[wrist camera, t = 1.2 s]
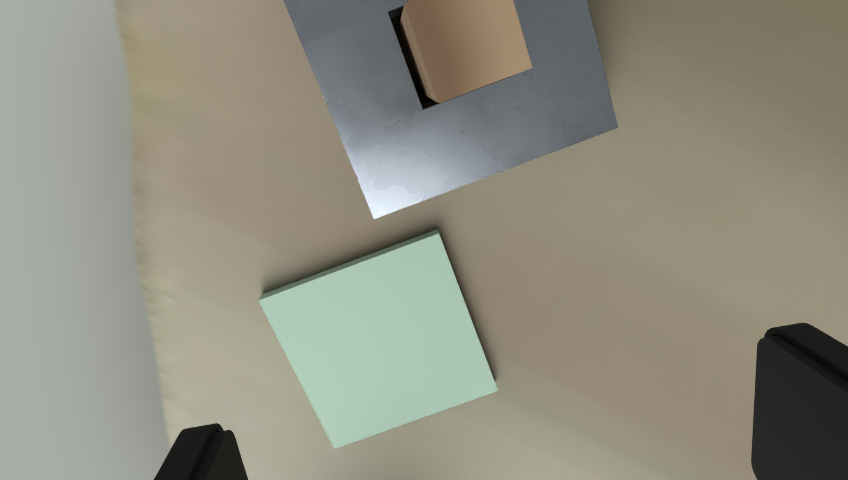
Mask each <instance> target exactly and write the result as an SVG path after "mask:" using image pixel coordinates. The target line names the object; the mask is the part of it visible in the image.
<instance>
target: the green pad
mask: <svg viewBox="0 0 848 480" xmlns="http://www.w3.org/2000/svg"><path fill="white" fill-rule="evenodd" d="M258 301H259V303H260V305H261V307H262V309H263V311H264V313H265V314H266V316H267V318H268V320H269V322H270V324H271V326H272V328H273V330H274V332H275V334H276V336H277V338H278V340H279V342H280V344H281V346H282V348H283V350H284V352H285V354H286V356H287V358H288V359H289V361H290V363H291V365H292V367H293V369H294V371H295V373H296V375H297V377H298V379H299V381H300V383H301V385H302V387H303V389H304V391H305V393H306V395H307V397H308V399H309V401H310V403H311V404H312V406H313V408H314V410H315V412H316V414H317V416H318V418H319V420H320V422H321V424H322V426H323V428H324V430H325V432H326V434H327V436H328V438H329V440H330V442H331V444H332V446H333V448H334V449H336V448H339V447H342V446H344V445H347V444H350V443H353V442H356V441H358V440H361V439H364V438H367V437H370V436H372V435H375V434H378V433H381V432H384V431H386V430H389V429H392V428H395V427H398V426H400V425H403V424H406V423H409V422H412V421H414V420H417V419H420V418H423V417H426V416H428V415H431V414H434V413H437V412H440V411H443V410H445V409H448V408H451V407H454V406H457V405H459V404H462V403H465V402H468V401H471V400H473V399H476V398H479V397H482V396H485V395H487V394H490V393H493V392H496V391H498V389H497V386H496V384H495V381H494V378H493V376H492V373H491V370H490V368H489V365H488V362H487V360H486V357H485V354H484V352H483V349H482V346H481V344H480V341H479V338H478V336H477V333H476V330H475V328H474V325H473V322H472V320H471V317H470V314H469V312H468V309H467V306H466V304H465V301H464V298H463V296H462V293H461V290H460V288H459V285H458V282H457V280H456V277H455V274H454V272H453V269H452V266H451V264H450V261H449V258H448V256H447V253H446V250H445V248H444V245H443V242H442V240H441V237H440V234H439V232H438V229H436V230H433V231H430V232H428V233H425V234H422V235H420V236H417V237H414V238H412V239H409V240H406V241H404V242H401V243H398V244H396V245H393V246H390V247H387V248H385V249H382V250H379V251H377V252H374V253H371V254H369V255H366V256H363V257H361V258H358V259H355V260H353V261H350V262H347V263H344V264H342V265H339V266H336V267H334V268H331V269H328V270H326V271H323V272H320V273H318V274H315V275H312V276H310V277H307V278H304V279H301V280H299V281H296V282H293V283H291V284H288V285H285V286H283V287H280V288H277V289H275V290H272V291H269V292H267V293H264V294H262V295H261V297H260V298H259V300H258Z"/></svg>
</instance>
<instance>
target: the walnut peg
mask: <svg viewBox="0 0 848 480" xmlns="http://www.w3.org/2000/svg"><path fill="white" fill-rule="evenodd" d="M399 27H400V30H401V33H402V35H403V38H404V41H405V44H406V47H407V49H408V52H409V55H410V58H411V61H412V64H413V66H414V69H415V72H416V75H417V78H418V80H419V83H420V86H421V89H422V92H423V94H424V95H425V96H427V97H429V98H431V99H433V100H435V101H436V102H438V103H442V102H444V101H447V100H449V99H452V98H455V97H457V96H460V95H463V94H465V93H468V92H470V91H473V90H476V89H478V88H481V87H483V86H486V85H489V84H491V83H494V82H496V81H499V80H502V79H504V78H507V77H510V76H512V75H515V74H517V73H520V72H523V71H525V70H528V69H530V68H532V64H531V61H530V57H529V54H528V50H527V47H526V43H525V40H524V36H523V33H522V29H521V26H520V22H519V19H518V15H517V12H516V8H515V5H514V1H513V0H410V1H408V2H405V4H404V8H403V12H402V16H401V20H400V24H399Z"/></svg>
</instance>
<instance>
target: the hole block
mask: <svg viewBox="0 0 848 480" xmlns="http://www.w3.org/2000/svg"><path fill="white" fill-rule="evenodd" d="M408 1H410V0H284V2H285V4H286V7H287V9H288V12H289V14H290V16H291V19H292V21H293V24H294V26H295V29H296V31H297V33H298V36H299V38H300V41H301V43H302V46H303V48H304V50H305V53H306V55H307V58H308V60H309V63H310V65H311V67H312V70H313V72H314V75H315V77H316V79H317V82H318V84H319V87H320V89H321V92H322V94H323V96H324V99H325V101H326V104H327V106H328V109H329V111H330V113H331V116H332V118H333V121H334V123H335V126H336V128H337V130H338V133H339V135H340V138H341V140H342V142H343V145H344V147H345V150H346V152H347V155H348V157H349V159H350V162H351V164H352V167H353V169H354V172H355V174H356V176H357V179H358V181H359V184H360V186H361V189H362V191H363V193H364V196H365V198H366V201H367V203H368V205H369V208H370V210H371V213H372V215H373V218H374V219H376V218H378V217H381V216H384V215H386V214H389V213H392V212H394V211H397V210H400V209H402V208H405V207H408V206H410V205H413V204H416V203H418V202H421V201H424V200H426V199H429V198H432V197H434V196H437V195H440V194H442V193H445V192H448V191H450V190H453V189H456V188H458V187H461V186H464V185H466V184H469V183H472V182H474V181H477V180H480V179H482V178H485V177H488V176H490V175H493V174H496V173H498V172H501V171H504V170H506V169H509V168H512V167H514V166H517V165H520V164H522V163H525V162H528V161H530V160H533V159H536V158H538V157H541V156H544V155H546V154H549V153H552V152H554V151H557V150H560V149H562V148H565V147H568V146H570V145H573V144H576V143H578V142H581V141H584V140H586V139H589V138H592V137H594V136H597V135H600V134H602V133H605V132H608V131H610V130H613V129H616V128H618V124H617V120H616V116H615V112H614V108H613V104H612V100H611V96H610V92H609V88H608V84H607V80H606V76H605V72H604V68H603V64H602V59H601V55H600V51H599V47H598V43H597V39H596V35H595V31H594V27H593V23H592V19H591V15H590V11H589V7H588V3H587V0H513V1H514V5H515V8H516V12H517V15H518V19H519V22H520V26H521V29H522V33H523V36H524V40H525V43H526V47H527V50H528V54H529V57H530V61H531V64H532V68H530V69H528V70H525V71H523V72H520V73H517V74H515V75H512V76H510V77H507V78H504V79H502V80H499V81H496V82H494V83H491V84H489V85H486V86H483V87H481V88H478V89H476V90H473V91H470V92H468V93H465V94H463V95H460V96H457V97H455V98H452V99H449V100H447V101H444V102H442V103H438V102H436V101H435V100H432V101H430V102H427V103H424V104H422V105H421V103H420V101H419V98H418V95H417V92H416V89H415V87H414V84H413V81H412V78H411V75H410V73H409V70H408V67H407V64H406V61H405V59H404V56H403V53H402V50H401V47H400V45H399V42H398V39H397V36H396V34H395V31H394V28H393V25H392V22H391V20H390V18H393V17H396V16H398V15H401V14H402V12H403V8H404V4H405V2H408Z"/></svg>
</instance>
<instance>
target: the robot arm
mask: <svg viewBox="0 0 848 480" xmlns="http://www.w3.org/2000/svg"><path fill="white" fill-rule="evenodd" d="M751 463H752V468H753V471H754V474H755V476H756V478H757V480H848V346H846V345H844V344H842V343H841V342H839V341H837V340H836V339H834V338H832V337H830V336H829V335H827V334H825V333H824V332H822V331H820V330H819V329H817V328H815V327H813V326H812V325H809V324H807V323H798V324H792V325H786V326H780V327H774V328H771V329H769V330H767V332H766V333H765V336H764V338H762V339H760V340H759V342H758V346H757V360H756V380H755V399H754V418H753V437H752V456H751ZM154 480H248V478H247V475H246V471H245V468H244V465H243V462H242V458H241V455H240V452H239V448H238V445H237V442H236V439H235V436H234V433H233V432H232V431H231V430H226V431H224V430H223V428H222V427H221V425H220V424H217V423H216V424H210V425H204V426H198V427H192V428H187V429H184V430H182V431H181V433H180V434H179V436H178V437H177V439H176V441H175V443H174V444H173V446H172V448H171V450H170V452H169V453H168V455H167V457H166V459H165V461H164V462H163V464H162V466H161V468H160V470H159V472H158V473H157V475H156V477H155V479H154Z"/></svg>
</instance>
